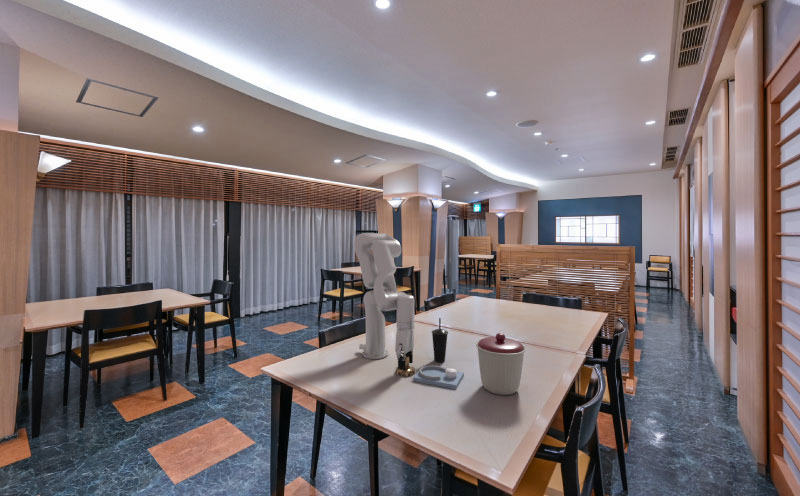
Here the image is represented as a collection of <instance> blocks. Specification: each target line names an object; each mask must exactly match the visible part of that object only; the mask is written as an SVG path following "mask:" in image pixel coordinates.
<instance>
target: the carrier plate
mask: <svg viewBox="0 0 800 496" xmlns="http://www.w3.org/2000/svg"><path fill="white" fill-rule="evenodd" d="M464 376H465V372H463V371H457V370H456V369H455V368H449V367H448V368H445V367H444V366H440V365H423V366H422V367H421V368H419V370H418V371H417V373H415V374H414V376H412V381H413V382H417V383H421V384H427V385H433V386H438V387H442V388H449V389H455V390H457V389H458V387H459V386H460V384H461V382H462V380H463V379H464Z"/></svg>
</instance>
